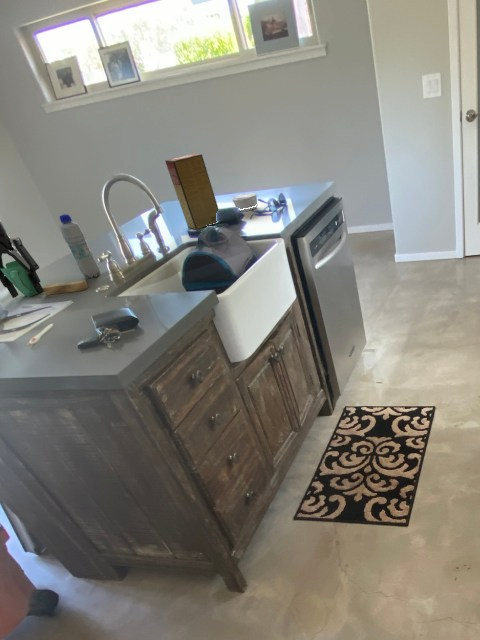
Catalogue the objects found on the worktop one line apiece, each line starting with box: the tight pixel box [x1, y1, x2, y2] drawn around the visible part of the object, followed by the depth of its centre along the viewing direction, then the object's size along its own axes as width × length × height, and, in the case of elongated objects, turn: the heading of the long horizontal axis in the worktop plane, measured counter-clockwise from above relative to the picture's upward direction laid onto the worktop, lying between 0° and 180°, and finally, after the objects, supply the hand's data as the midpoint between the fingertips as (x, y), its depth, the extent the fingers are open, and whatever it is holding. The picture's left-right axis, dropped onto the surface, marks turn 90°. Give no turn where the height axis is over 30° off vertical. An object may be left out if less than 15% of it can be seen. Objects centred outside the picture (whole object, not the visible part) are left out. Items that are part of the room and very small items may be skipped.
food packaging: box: [164, 153, 220, 231], centre depth 218 cm, size 13×9×25 cm
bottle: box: [59, 213, 101, 279], centre depth 179 cm, size 7×7×20 cm
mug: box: [0, 260, 39, 297], centre depth 174 cm, size 15×10×10 cm
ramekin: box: [231, 192, 258, 212], centre depth 238 cm, size 11×11×5 cm
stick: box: [42, 279, 89, 296], centre depth 175 cm, size 14×3×2 cm, turn 89°
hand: (28, 294), depth 177 cm, fingers closed on mug, 9 cm apart
